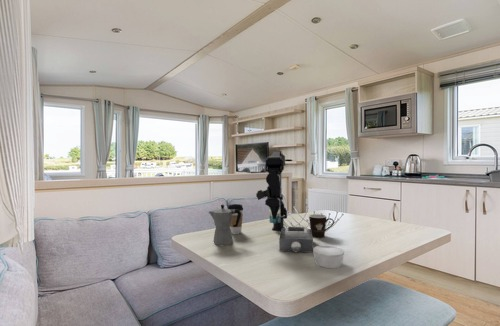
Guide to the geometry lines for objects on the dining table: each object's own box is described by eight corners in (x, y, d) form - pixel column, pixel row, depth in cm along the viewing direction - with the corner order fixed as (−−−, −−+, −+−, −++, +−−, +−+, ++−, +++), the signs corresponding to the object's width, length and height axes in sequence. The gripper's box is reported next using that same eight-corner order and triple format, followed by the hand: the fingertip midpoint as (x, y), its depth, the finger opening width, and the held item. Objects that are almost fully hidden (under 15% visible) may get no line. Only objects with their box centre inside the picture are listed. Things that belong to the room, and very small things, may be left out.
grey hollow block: (281, 239, 131) (281, 224, 131) (311, 240, 128) (311, 225, 128) (279, 252, 113) (278, 234, 113) (313, 254, 111) (313, 236, 111)
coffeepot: (207, 246, 123) (207, 206, 122) (210, 239, 132) (209, 203, 132) (241, 245, 123) (241, 206, 123) (241, 239, 133) (241, 202, 132)
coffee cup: (225, 234, 142) (224, 205, 142) (232, 229, 150) (231, 202, 149) (239, 235, 139) (239, 206, 138) (246, 231, 147) (245, 203, 146)
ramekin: (335, 257, 108) (335, 244, 107) (350, 268, 96) (350, 253, 96) (308, 259, 106) (308, 246, 105) (320, 271, 95) (320, 256, 94)
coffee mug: (307, 237, 134) (306, 217, 134) (311, 232, 142) (311, 213, 142) (331, 240, 129) (330, 219, 129) (334, 235, 137) (334, 215, 136)
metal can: (270, 220, 128) (269, 202, 128) (280, 220, 127) (280, 202, 127) (268, 223, 123) (268, 204, 123) (279, 223, 122) (279, 204, 122)
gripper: (260, 181, 136) (261, 212, 136) (253, 185, 117) (254, 221, 118) (282, 182, 133) (283, 213, 134) (279, 186, 115) (279, 222, 115)
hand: (274, 217), depth 125 cm, fingers closed on metal can, 5 cm apart
